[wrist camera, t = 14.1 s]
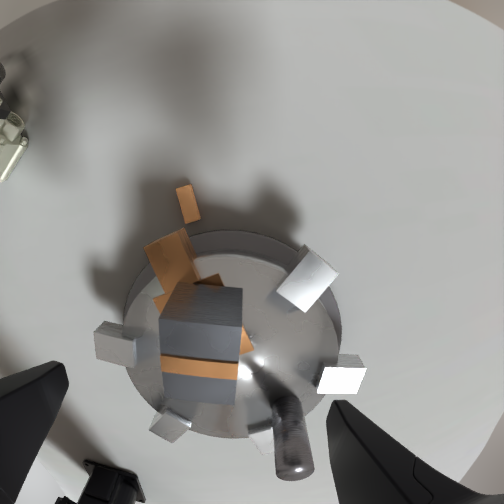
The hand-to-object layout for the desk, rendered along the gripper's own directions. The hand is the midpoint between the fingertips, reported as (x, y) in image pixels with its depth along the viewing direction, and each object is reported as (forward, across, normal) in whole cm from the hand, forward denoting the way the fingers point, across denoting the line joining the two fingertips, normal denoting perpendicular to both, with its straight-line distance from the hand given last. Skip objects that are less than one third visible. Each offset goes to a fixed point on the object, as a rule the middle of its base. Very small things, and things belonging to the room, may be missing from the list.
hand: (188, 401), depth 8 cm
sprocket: (+8, -1, +3) cm, 9 cm away
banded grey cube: (+6, 0, 0) cm, 6 cm away
